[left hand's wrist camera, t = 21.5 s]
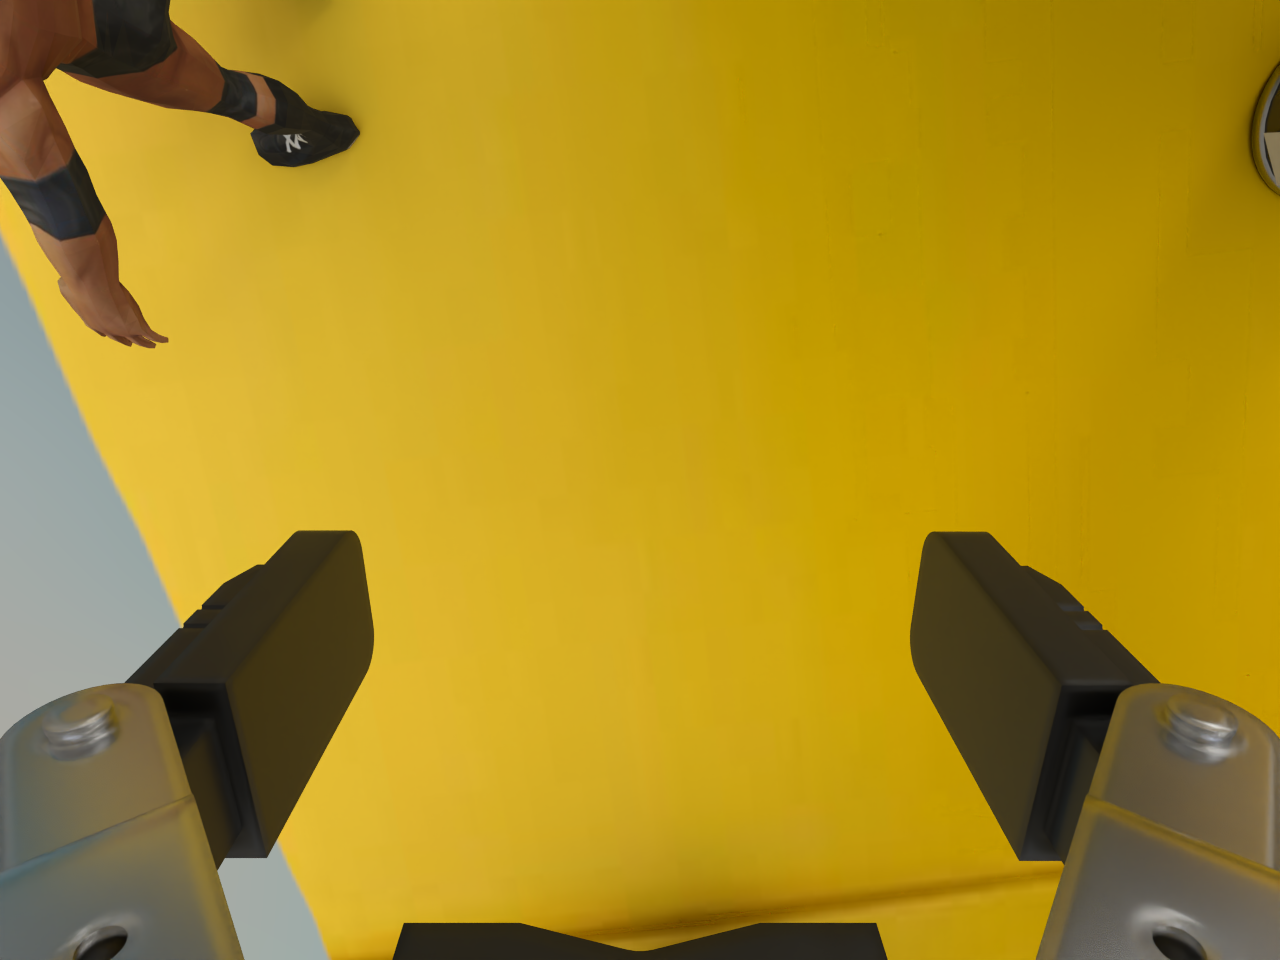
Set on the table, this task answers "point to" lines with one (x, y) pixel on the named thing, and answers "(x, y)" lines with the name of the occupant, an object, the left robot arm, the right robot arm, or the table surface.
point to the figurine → (140, 69)
